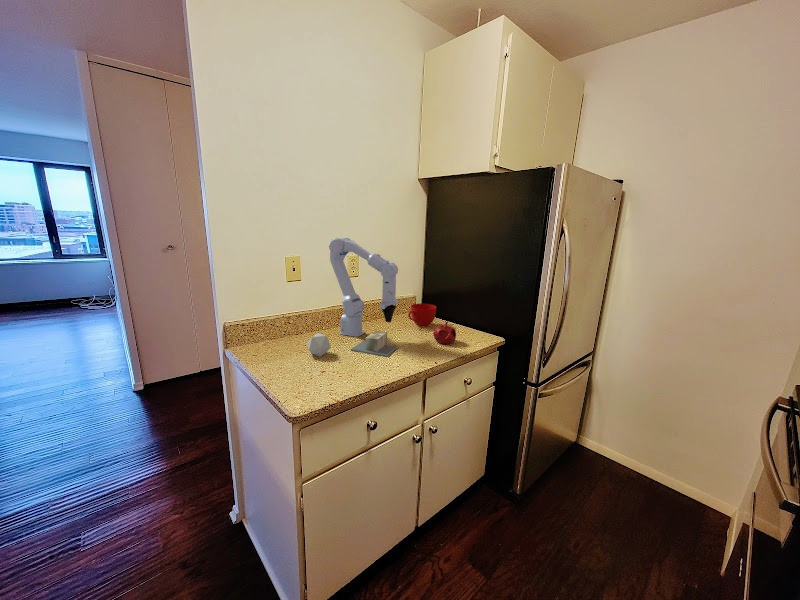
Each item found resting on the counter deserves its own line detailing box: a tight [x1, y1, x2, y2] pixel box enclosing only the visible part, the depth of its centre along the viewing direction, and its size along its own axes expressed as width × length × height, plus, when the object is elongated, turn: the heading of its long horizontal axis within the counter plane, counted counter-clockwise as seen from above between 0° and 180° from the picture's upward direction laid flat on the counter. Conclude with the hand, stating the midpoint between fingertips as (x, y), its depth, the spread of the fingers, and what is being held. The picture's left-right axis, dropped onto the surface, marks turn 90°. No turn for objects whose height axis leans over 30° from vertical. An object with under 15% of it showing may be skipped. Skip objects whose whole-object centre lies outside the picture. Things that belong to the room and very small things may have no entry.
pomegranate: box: [432, 321, 457, 345], centre depth 142 cm, size 10×10×9 cm
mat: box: [350, 340, 399, 358], centre depth 132 cm, size 16×11×1 cm
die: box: [306, 332, 332, 358], centre depth 124 cm, size 8×9×10 cm
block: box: [365, 330, 388, 351], centre depth 133 cm, size 5×5×10 cm
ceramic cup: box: [407, 303, 437, 328], centre depth 165 cm, size 13×17×10 cm
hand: (388, 321), depth 143 cm, fingers closed
